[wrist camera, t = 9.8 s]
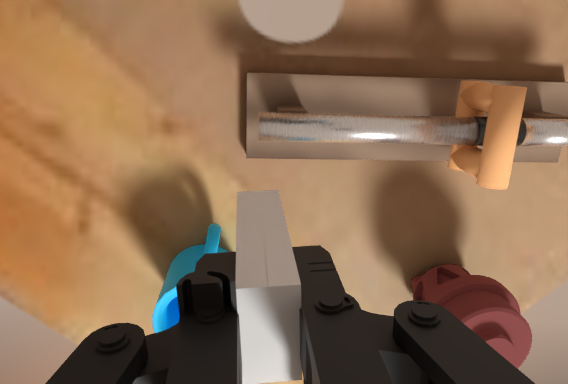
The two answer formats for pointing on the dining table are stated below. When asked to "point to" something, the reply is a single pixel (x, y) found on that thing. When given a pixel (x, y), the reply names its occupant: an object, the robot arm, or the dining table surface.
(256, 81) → the stand
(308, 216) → the dining table surface
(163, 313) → the mug
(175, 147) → the dining table surface
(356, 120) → the rod
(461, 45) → the dining table surface
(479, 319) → the mechanical component
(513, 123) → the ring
